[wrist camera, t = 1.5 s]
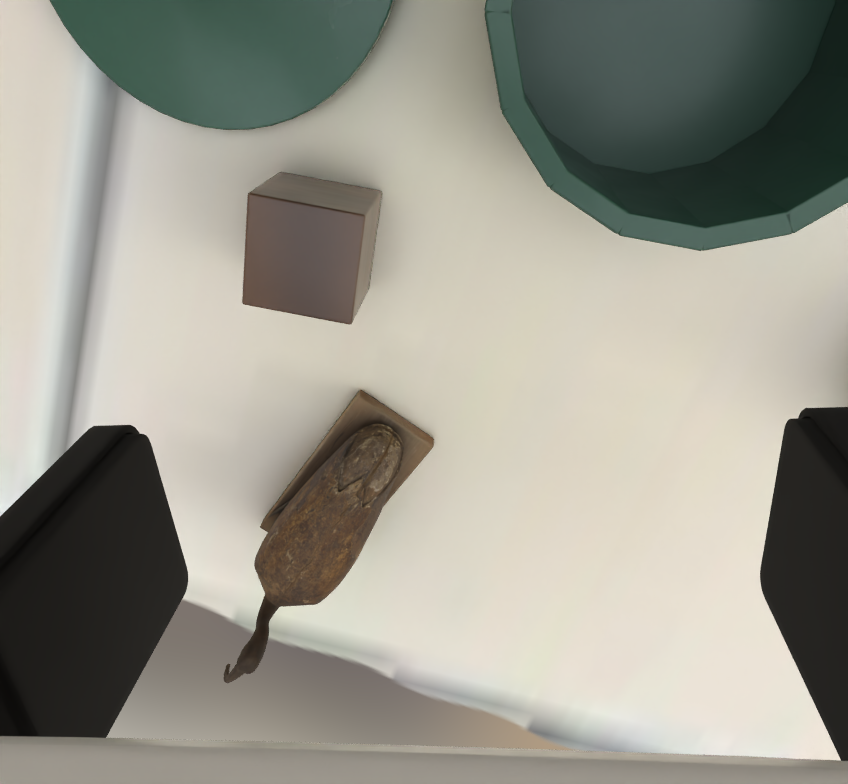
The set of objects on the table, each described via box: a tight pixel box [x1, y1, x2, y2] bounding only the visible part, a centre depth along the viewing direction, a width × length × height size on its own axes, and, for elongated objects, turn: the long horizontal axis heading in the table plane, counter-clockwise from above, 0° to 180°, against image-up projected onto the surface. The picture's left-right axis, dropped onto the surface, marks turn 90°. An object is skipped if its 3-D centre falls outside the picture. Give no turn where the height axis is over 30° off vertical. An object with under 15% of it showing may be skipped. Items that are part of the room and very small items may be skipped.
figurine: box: [224, 390, 434, 683], centre depth 34 cm, size 14×4×9 cm, turn 145°
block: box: [242, 172, 382, 324], centre depth 29 cm, size 4×4×4 cm
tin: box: [485, 0, 848, 251], centre depth 22 cm, size 13×13×9 cm
